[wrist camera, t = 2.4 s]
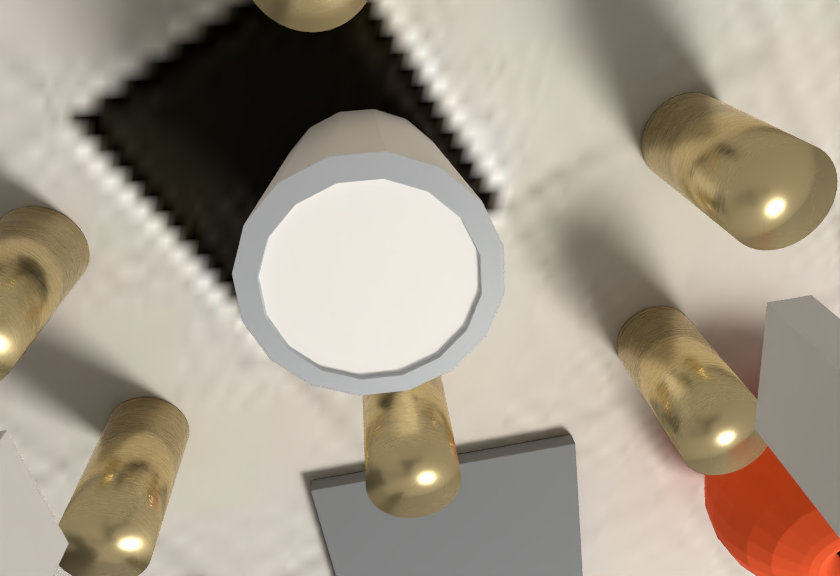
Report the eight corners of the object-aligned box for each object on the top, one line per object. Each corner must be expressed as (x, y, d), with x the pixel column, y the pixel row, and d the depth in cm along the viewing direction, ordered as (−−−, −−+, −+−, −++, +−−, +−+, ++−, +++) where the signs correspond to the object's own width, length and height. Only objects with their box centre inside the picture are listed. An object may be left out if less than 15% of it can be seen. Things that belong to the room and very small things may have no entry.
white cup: (265, 77, 22) (232, 137, 16) (481, 101, 23) (531, 167, 17) (259, 275, 25) (230, 392, 19) (450, 289, 26) (482, 404, 20)
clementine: (831, 333, 28) (969, 450, 22) (873, 443, 31) (1005, 574, 25) (651, 426, 30) (733, 561, 23) (708, 523, 33) (794, 666, 26)
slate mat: (356, 634, 34) (356, 646, 33) (311, 480, 29) (310, 490, 29) (580, 594, 34) (584, 605, 34) (571, 434, 29) (575, 443, 29)
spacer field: (99, 469, 28) (41, 596, 23) (-142, -37, 19) (-326, -21, 14) (714, 360, 28) (799, 460, 23) (746, -184, 20) (894, -224, 14)
